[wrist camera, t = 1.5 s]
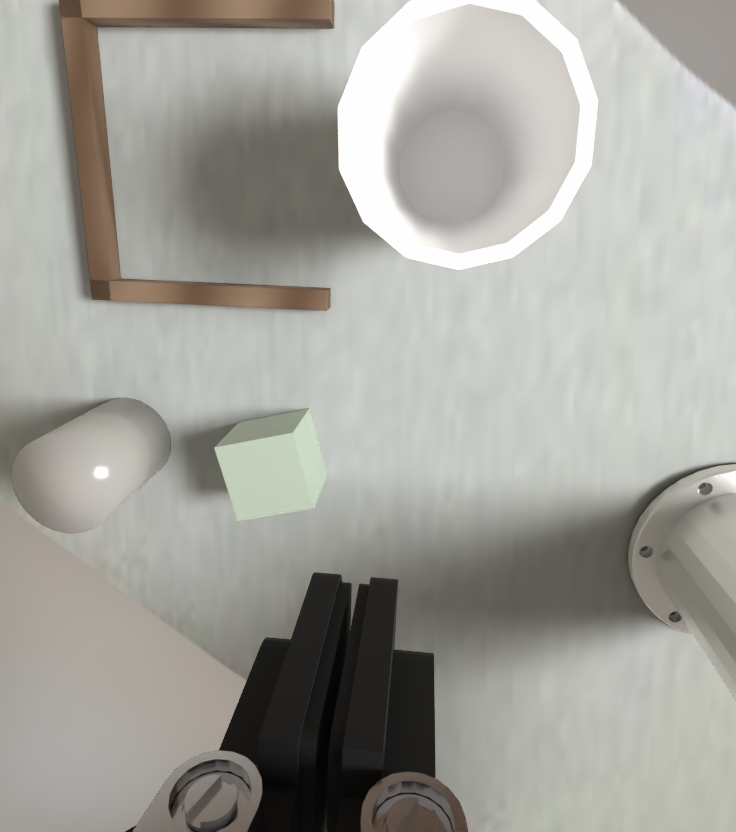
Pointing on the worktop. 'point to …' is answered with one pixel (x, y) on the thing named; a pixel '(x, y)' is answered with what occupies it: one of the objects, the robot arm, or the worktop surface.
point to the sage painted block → (272, 465)
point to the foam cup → (466, 129)
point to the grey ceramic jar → (90, 465)
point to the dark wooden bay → (81, 15)
